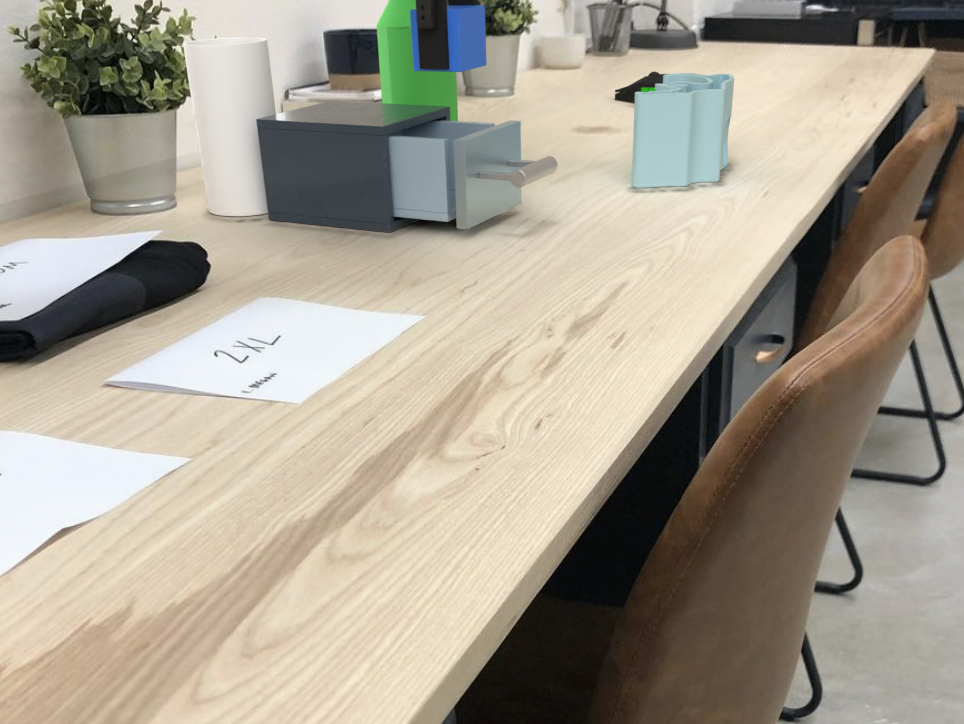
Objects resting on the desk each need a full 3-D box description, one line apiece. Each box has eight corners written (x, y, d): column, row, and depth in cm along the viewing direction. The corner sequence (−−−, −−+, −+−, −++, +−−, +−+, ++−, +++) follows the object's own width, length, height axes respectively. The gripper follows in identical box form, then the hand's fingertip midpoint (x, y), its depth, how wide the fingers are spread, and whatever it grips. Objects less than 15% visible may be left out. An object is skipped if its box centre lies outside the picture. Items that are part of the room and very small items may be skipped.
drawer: (567, 207, 110) (567, 123, 106) (515, 234, 101) (514, 143, 97) (407, 193, 118) (402, 114, 114) (347, 217, 109) (339, 132, 105)
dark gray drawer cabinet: (454, 205, 116) (450, 106, 111) (390, 232, 107) (382, 126, 102) (338, 194, 122) (329, 100, 118) (268, 220, 113) (255, 119, 108)
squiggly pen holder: (721, 189, 119) (729, 94, 114) (629, 187, 121) (633, 94, 116) (729, 157, 134) (735, 72, 129) (647, 156, 136) (650, 73, 131)
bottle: (473, 164, 135) (466, -75, 122) (432, 177, 129) (419, -73, 116) (415, 158, 139) (401, -73, 126) (372, 171, 133) (353, -71, 120)
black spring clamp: (680, 110, 166) (682, 81, 164) (600, 100, 177) (601, 73, 175) (728, 101, 172) (730, 73, 170) (648, 92, 183) (649, 65, 181)
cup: (239, 196, 123) (217, 36, 115) (301, 202, 120) (283, 37, 112) (192, 213, 117) (165, 44, 108) (256, 219, 113) (233, 46, 105)
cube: (413, 70, 102) (409, 9, 99) (440, 64, 105) (437, 5, 103) (460, 72, 100) (458, 9, 97) (486, 65, 103) (485, 5, 101)
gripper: (450, -236, 99) (462, 53, 111) (335, -254, 85) (362, 76, 97) (526, -243, 96) (529, 54, 108) (419, -264, 82) (436, 79, 94)
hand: (450, 64), depth 102 cm, fingers closed on cube, 5 cm apart
